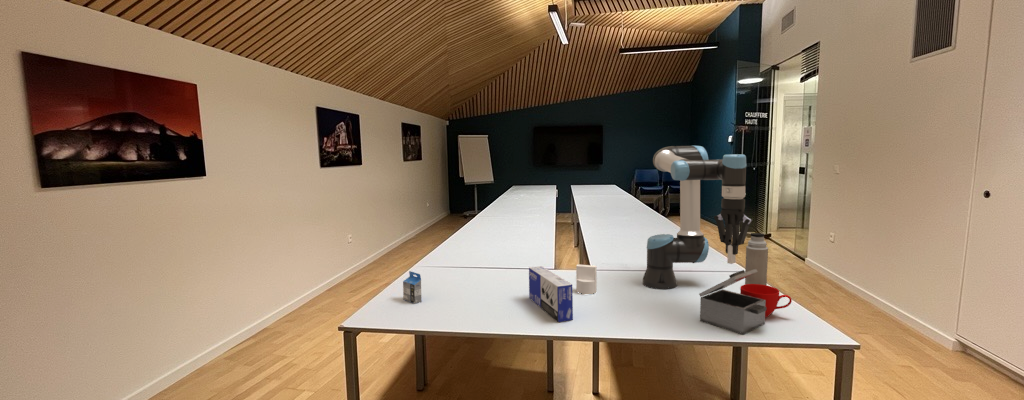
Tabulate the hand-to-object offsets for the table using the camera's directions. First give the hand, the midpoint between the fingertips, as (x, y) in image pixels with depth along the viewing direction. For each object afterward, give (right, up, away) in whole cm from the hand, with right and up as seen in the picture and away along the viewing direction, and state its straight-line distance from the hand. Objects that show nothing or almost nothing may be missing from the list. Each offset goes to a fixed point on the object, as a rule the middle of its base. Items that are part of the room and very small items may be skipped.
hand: (731, 262), depth 161 cm
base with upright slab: (-45, -19, +41) cm, 64 cm away
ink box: (-64, -22, +20) cm, 71 cm away
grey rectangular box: (+2, -22, +1) cm, 22 cm away
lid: (0, -8, +2) cm, 8 cm away
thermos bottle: (+23, -19, +26) cm, 40 cm away
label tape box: (-123, -22, +34) cm, 129 cm away
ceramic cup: (+17, -21, +8) cm, 28 cm away
